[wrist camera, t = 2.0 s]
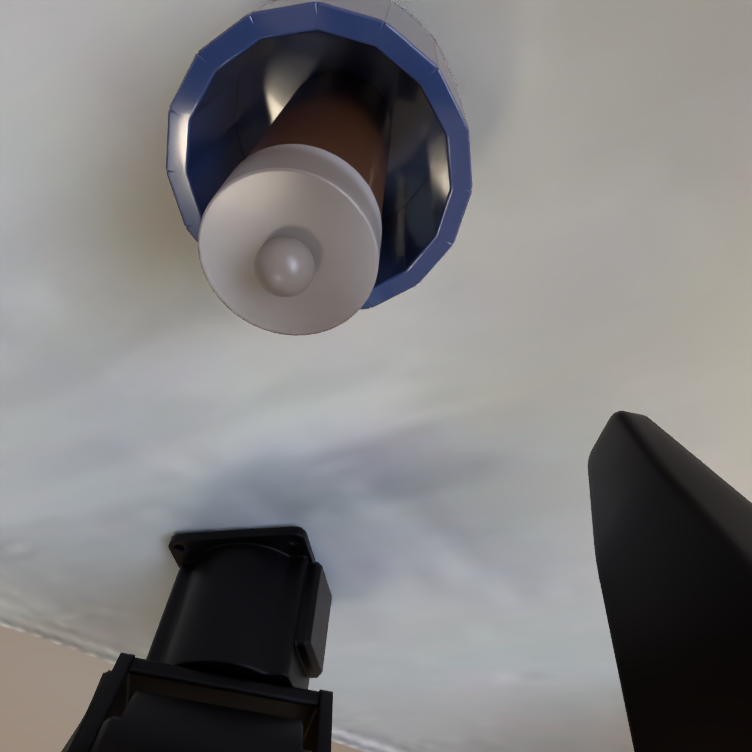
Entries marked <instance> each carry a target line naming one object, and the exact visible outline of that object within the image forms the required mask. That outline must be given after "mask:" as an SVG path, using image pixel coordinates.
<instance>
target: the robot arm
mask: <svg viewBox="0 0 752 752" xmlns="http://www.w3.org/2000/svg"><path fill="white" fill-rule="evenodd" d="M588 475H589V487H590V499H591V511H592V523H593V535H594V546H595V555H596V562H597V568H598V574H599V579H600V584H601V589H602V594H603V599H604V604H605V609H606V614H607V619H608V623H609V628H610V633H611V638H612V643H613V648H614V653H615V658H616V663H617V668H618V673H619V678H620V683H621V688H622V693H623V698H624V702H625V707H626V712H627V717H628V722H629V727H630V732H631V737H632V742H633V747H634V752H752V503H751V502H750V501H748V500H747V499H746V498H745V497H744V496H742V495H741V494H740V493H739V492H737V491H736V490H735V489H734V488H733V487H731V486H730V485H729V484H728V483H727V482H725V481H724V480H723V479H722V478H721V477H719V476H718V475H717V474H716V473H715V472H713V471H712V470H711V469H710V468H709V467H707V466H706V465H705V464H704V463H702V462H701V461H700V460H699V459H698V458H696V457H695V456H694V455H693V454H692V453H690V452H689V451H688V450H687V449H686V448H684V447H683V446H682V445H681V444H680V443H678V442H677V441H676V440H675V439H674V438H672V437H671V436H670V435H669V434H667V433H666V432H665V431H664V430H663V429H661V428H660V427H659V426H658V425H657V424H655V423H654V422H653V421H652V420H651V419H649V418H648V417H646V416H644V415H640V414H635V413H630V412H625V411H618V412H616V413H614V414H613V415H612V416H611V418H610V419H609V421H608V422H607V424H606V426H605V428H604V429H603V431H602V433H601V435H600V436H599V438H598V440H597V442H596V444H595V445H594V447H593V449H592V451H591V453H590V456H589V460H588ZM294 537H295V538H294ZM169 549H170V551H171V553H172V555H173V557H174V559H175V561H176V563H177V564H178V566H179V568H180V569H179V572H178V574H177V577H176V580H175V582H174V585H173V588H172V591H171V593H170V596H169V599H168V601H167V604H166V607H165V610H164V612H163V615H162V618H161V620H160V623H159V626H158V629H157V631H156V634H155V637H154V639H153V642H152V645H151V648H150V650H149V653H148V656H147V658H146V659H140V658H135V655H132V654H127V653H121V654H120V656H119V658H118V660H117V662H116V664H115V666H114V668H113V670H112V671H110V670H109V671H108V672H106V673H103V675H102V677H101V679H100V682H99V684H98V687H97V689H96V691H95V694H94V696H93V699H92V701H91V703H90V705H89V708H88V710H87V712H86V714H85V716H84V717H83V719H82V721H81V722H80V724H79V726H78V727H77V729H76V730H75V732H74V733H73V735H72V736H71V738H70V739H69V741H68V742H67V744H66V745H65V747H64V749H63V750H62V752H331V734H332V704H333V692H331V691H325V690H320V691H319V692H318V691H312V690H308V685H309V678H317V677H318V676H319V675H320V674H321V673H322V670H323V662H324V654H325V646H326V638H327V630H328V622H329V614H330V606H331V593H330V590H329V587H328V583H327V580H326V577H325V574H324V571H323V568H322V566H321V565H320V564H319V563H318V562H316V561H315V558H314V555H313V552H312V549H311V546H310V543H309V540H308V536H307V533H306V532H305V530H303V529H302V528H299V527H282V528H266V529H250V530H234V531H218V532H202V533H186V534H176V535H174V536H172V538H171V541H170V543H169Z"/></svg>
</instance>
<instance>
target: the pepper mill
mask: <svg viewBox="0 0 752 752" xmlns="http://www.w3.org/2000/svg"><path fill="white" fill-rule="evenodd" d="M390 139H391V120H390V115H389V112H388V109H387V106H386V104H385V102H384V100H383V98H382V97H381V95H380V94H379V93H378V91H377V90H376V89H375V88H374V87H373V86H372V85H371V84H370V83H368V82H367V81H366V80H364V79H363V78H361V77H359V76H357V75H354V74H351V73H348V72H343V71H328V72H324V73H320V74H318V75H315V76H313V77H311V78H310V79H308V80H307V81H305V82H304V83H303V84H302V85H301V86H300V87H299V88H298V89H297V90H296V92H295V93H294V94H293V96H292V97H291V98H290V100H289V101H288V102H287V104H286V105H285V106H284V108H283V109H282V111H281V112H280V113H279V115H278V116H277V117H276V119H275V120H274V121H273V123H272V124H271V125H270V127H269V128H268V129H267V131H266V132H265V133H264V135H263V136H262V137H261V139H260V140H259V142H258V143H257V144H256V146H255V147H254V148H253V150H252V151H251V152H250V154H249V155H248V156H247V158H246V159H245V160H244V161H242V162H241V163H240V164H239V165H238V166H237V167H236V168H235V169H234V170H233V172H232V173H231V174H230V176H229V177H228V178H227V179H226V181H225V182H224V183H223V185H222V186H221V187H220V189H219V190H218V191H217V193H216V194H215V195H214V197H213V198H212V200H211V201H210V202H209V204H208V206H207V208H206V210H205V212H204V214H203V216H202V220H201V223H200V227H199V234H198V250H199V258H200V261H201V265H202V269H203V271H204V274H205V276H206V279H207V281H208V282H209V284H210V286H211V288H212V289H213V291H214V292H215V293H216V295H217V296H218V298H219V299H220V300H221V301H222V302H223V303H224V304H225V305H226V306H227V307H228V308H229V309H230V310H231V311H233V312H234V313H235V314H236V315H238V316H239V317H241V318H242V319H243V320H245V321H247V322H249V323H251V324H252V325H254V326H257V327H259V328H262V329H264V330H267V331H271V332H274V333H279V334H285V335H309V334H315V333H320V332H323V331H327V330H329V329H332V328H334V327H336V326H338V325H340V324H342V323H343V322H345V321H347V320H348V319H349V318H351V317H352V316H353V315H354V314H355V313H356V312H357V311H358V310H359V309H360V308H361V307H362V306H363V305H364V303H365V302H366V300H367V299H368V297H369V295H370V293H371V292H372V290H373V287H374V284H375V281H376V278H377V273H378V266H379V257H380V248H381V238H382V223H381V216H382V207H383V199H384V190H385V181H386V173H387V164H388V156H389V147H390Z"/></svg>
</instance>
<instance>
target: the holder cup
mask: <svg viewBox="0 0 752 752" xmlns="http://www.w3.org/2000/svg"><path fill="white" fill-rule="evenodd" d="M328 71H343V72H348V73H351V74H354V75H357V76H359V77H361V78H363V79H364V80H366V81H367V82H368V83H370V84H371V85H372V86H373V87H374V88H375V89H376V90H377V91H378V93H379V94H380V95H381V97H382V98H383V100H384V102H385V104H386V106H387V109H388V112H389V115H390V120H391V139H390V147H389V156H388V164H387V173H386V181H385V190H384V199H383V207H382V216H381V223H382V238H381V248H380V257H379V266H378V273H377V278H376V281H375V284H374V287H373V290H372V292H371V293H370V295H369V297H368V299H367V300H366V302H365V303H364V305H363V306H362V307H361V308H360V309H369V308H371V307H374V306H376V305H378V304H380V303H382V302H384V301H386V300H388V299H390V298H392V297H394V296H396V295H398V294H400V293H402V292H404V291H406V290H408V289H410V288H412V287H414V286H416V285H417V284H418V283H420V282H421V280H422V279H423V278H424V277H425V276H426V275H427V274H428V273H429V271H430V270H431V269H432V268H433V267H434V266H435V265H436V263H437V262H438V261H439V260H440V259H441V258H442V257H443V256H444V254H445V253H446V252H447V251H448V250H449V249H450V248H451V246H452V243H454V242H455V239H456V236H457V233H458V230H459V227H460V224H461V221H462V218H463V216H464V213H465V210H466V207H467V204H468V201H469V198H470V195H471V192H472V191H471V189H472V173H471V157H470V141H469V129H468V125H467V121H466V117H465V114H464V110H463V106H462V103H461V99H460V95H459V92H458V88H457V84H456V82H455V80H454V78H453V76H452V74H451V71H450V69H449V67H448V65H447V62H446V60H445V58H444V56H443V54H442V52H441V51H440V49H439V47H438V45H437V43H436V41H435V39H434V38H433V37H432V35H431V34H430V33H429V32H428V31H427V30H426V29H425V28H424V27H423V26H422V25H421V24H420V23H419V22H418V21H417V20H416V19H415V18H414V17H413V16H412V15H411V14H409V13H408V12H407V11H405V10H404V9H403V8H401V7H400V6H399V5H397V4H396V3H395V2H393V1H391V0H275V1H273V2H271V3H269V4H267V5H265V6H263V7H261V8H259V9H257V10H255V11H253V12H251V13H249V14H247V15H246V16H244V17H243V18H242V19H240V20H239V21H238V22H236V23H235V24H234V25H232V26H231V27H230V28H228V29H227V30H226V31H224V32H223V33H222V34H220V35H219V36H218V37H216V38H215V39H214V40H212V41H211V42H210V43H208V44H207V45H206V46H204V47H203V48H202V49H200V50H199V52H198V53H197V54H196V55H195V57H194V59H193V61H192V63H191V65H190V67H189V69H188V71H187V73H186V75H185V77H184V79H183V81H182V83H181V85H180V87H179V89H178V91H177V93H176V95H175V97H174V99H173V101H172V103H171V105H170V110H169V112H168V133H167V155H166V170H167V175H168V178H169V181H170V184H171V187H172V190H173V193H174V196H175V199H176V201H177V204H178V207H179V210H180V213H181V216H182V219H183V222H184V225H185V226H187V227H186V228H187V230H188V231H189V232H190V234H191V235H192V236H193V237H194V239H195V240H196V241H197V242H198V234H199V227H200V223H201V220H202V216H203V214H204V212H205V210H206V208H207V206H208V204H209V202H210V201H211V200H212V198H213V197H214V195H215V194H216V193H217V191H218V190H219V189H220V187H221V186H222V185H223V183H224V182H225V181H226V179H227V178H228V177H229V176H230V174H231V173H232V172H233V170H234V169H235V168H236V167H237V166H238V165H239V164H240V163H241V162H242V161H244V160H245V159H246V158H247V156H248V155H249V154H250V152H251V151H252V150H253V148H254V147H255V146H256V144H257V143H258V142H259V140H260V139H261V137H262V136H263V135H264V133H265V132H266V131H267V129H268V128H269V127H270V125H271V124H272V123H273V121H274V120H275V119H276V117H277V116H278V115H279V113H280V112H281V111H282V109H283V108H284V106H285V105H286V104H287V102H288V101H289V100H290V98H291V97H292V96H293V94H294V93H295V92H296V90H297V89H298V88H299V87H300V86H301V85H302V84H303V83H304V82H305V81H307V80H308V79H310V78H311V77H313V76H315V75H318V74H320V73H324V72H328ZM360 309H359V310H360Z"/></svg>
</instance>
